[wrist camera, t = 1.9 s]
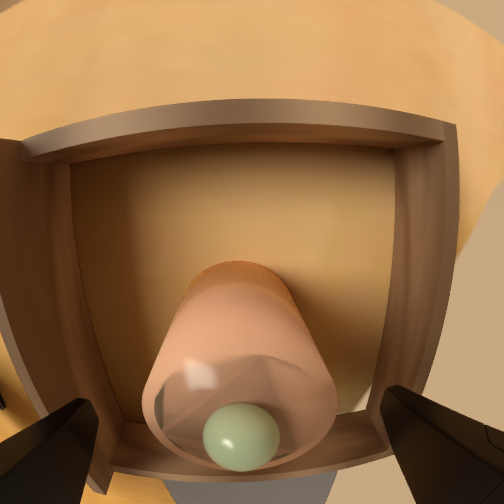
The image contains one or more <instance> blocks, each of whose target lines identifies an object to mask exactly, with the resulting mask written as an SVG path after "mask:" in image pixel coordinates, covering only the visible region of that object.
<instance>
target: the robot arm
mask: <svg viewBox="0 0 504 504" xmlns="http://www.w3.org/2000/svg"><path fill="white" fill-rule="evenodd" d="M5 408H6V406H5V404H4V402H3V400H2V399H1V397H0V409H1V410H4V409H5ZM380 414H381V417H382V420H383V423H384V426H385V429H386V432H387V435H388V438H389V441H390V445H391V447H392V450H393V452H394V455H395V457H396V459H397V461H398V463H399V466H400V468H401V470H402V472H403V475H404V476H405V479H406V481H407V484H408V486H409V488H410V490H411V493H412V495H413V498H414V500H415V502H416V504H504V432H503V431H501V430H498V429H495V428H493V427H490V426H488V425H484V424H483V423H481V422H478V421H476V420H474V419H472V418H469V417H467V416H465V415H462V414H460V413H458V412H456V411H453V410H451V409H449V408H447V407H445V406H442V405H440V404H438V403H436V402H434V401H432V400H430V399H428V398H425V397H423V396H421V395H419V394H417V393H415V392H413V391H411V390H409V389H407V388H405V387H403V386H401V385H398V384H396V385H392V386H388V387H386V388H385V390H384V393H383V396H382V400H381V403H380ZM98 426H99V418H98V415H97V413H96V411H95V409H94V407H93V404H92V402H91V401H90V400H89V399H86V398H80V397H78V398H76V399H74V400H73V401H71V402H69V403H68V404H66V405H64V406H63V407H61V408H59V409H58V410H56V411H54V412H53V413H51V414H49V415H47V416H46V417H44V418H42V419H41V420H39V421H37V422H36V423H34V424H32V425H30V426H29V427H27V428H25V429H23V430H22V431H20V432H18V433H16V434H15V435H13V436H11V437H9V438H8V439H6V440H4V441H2V442H1V443H0V504H80V502H81V498H82V494H83V490H84V487H85V483H86V479H87V476H88V472H89V469H90V465H91V462H92V457H93V452H94V447H95V441H96V436H97V431H98Z"/></svg>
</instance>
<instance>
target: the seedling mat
mask: <svg viewBox="0 0 504 504" xmlns="http://www.w3.org/2000/svg"><path fill="white" fill-rule="evenodd" d="M337 471H338V470H336V471H331V472H327V473H321V474H316V475H310V476H304V477H297V478H289V479H281V480H271V481H258V482H236V483H209V482H187V481H175V480H165V479H162V480H163V482H164V483H165V485H166V487H167V489H168V490H169V492H170V494H171V496H172V497H173V499H174V501H175V502H176V504H325V502H326V500H327V497H328V495H329V492H330V490H331V487H332V485H333V482H334V480H335V477H336V474H337Z"/></svg>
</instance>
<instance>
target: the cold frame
mask: <svg viewBox="0 0 504 504" xmlns="http://www.w3.org/2000/svg"><path fill="white" fill-rule="evenodd" d="M266 142H291V143H325V144H343V145H357V146H369V147H379V148H389V149H394V156H395V229H394V247H393V260H392V271H391V281H390V290H389V298H388V305H387V312H386V318H385V325H384V331H383V336H382V342H381V347H380V352H379V357H378V362H377V366H376V371H375V375H374V379H373V383H372V387H371V391H370V395H369V399H368V403H367V406H366V410H362V411H357V412H353V413H348V414H343V415H338V416H336V418H335V420H334V423H333V425H332V427H331V428H330V430H329V431H328V432H327V434H326V435H325V436H324V437H323V438H322V440H321V441H320V442H319V443H317V444H316V445H315V446H314V447H313V448H311V449H310V450H308V451H307V452H306V453H304V454H302V455H300V456H299V457H297V458H295V459H293V460H290V461H288V462H285V463H283V464H280V465H277V466H273V467H269V468H264V469H258V470H252V471H247V472H237V471H231V470H222V469H215V468H211V467H206V466H203V465H200V464H197V463H194V462H191V461H189V460H187V459H184V458H183V457H181V456H179V455H177V454H175V453H174V452H172V451H171V450H170V449H168V448H167V447H166V446H165V445H163V444H162V443H161V442H160V441H159V440H158V439H157V438H156V437H155V435H154V434H153V433H152V431H151V430H150V428H149V427H148V425H147V424H142V423H134V422H126V421H125V419H124V417H123V414H122V412H121V409H120V407H119V405H118V402H117V400H116V397H115V394H114V392H113V389H112V386H111V384H110V381H109V378H108V375H107V373H106V370H105V367H104V364H103V361H102V357H101V354H100V351H99V348H98V344H97V341H96V338H95V334H94V330H93V327H92V323H91V319H90V315H89V311H88V307H87V302H86V298H85V293H84V288H83V283H82V278H81V273H80V267H79V261H78V255H77V248H76V241H75V233H74V224H73V214H72V202H71V185H70V164H73V163H78V162H83V161H88V160H93V159H98V158H104V157H110V156H116V155H122V154H128V153H135V152H142V151H150V150H158V149H167V148H176V147H187V146H199V145H213V144H231V143H266ZM458 221H459V155H458V141H457V130H456V125H455V124H452V123H448V122H444V121H441V120H437V119H433V118H428V117H424V116H420V115H415V114H411V113H406V112H401V111H395V110H390V109H384V108H378V107H371V106H364V105H357V104H348V103H339V102H329V101H316V100H299V99H229V100H212V101H199V102H188V103H179V104H171V105H163V106H156V107H149V108H143V109H137V110H131V111H126V112H121V113H116V114H111V115H107V116H102V117H98V118H94V119H89V120H86V121H82V122H78V123H74V124H71V125H67V126H64V127H60V128H57V129H54V130H50V131H47V132H44V133H41V134H38V135H35V136H33V137H30V138H27V139H24V140H22V141H17V140H9V139H0V332H1V335H2V338H3V340H4V343H5V346H6V348H7V351H8V353H9V356H10V358H11V361H12V363H13V365H14V368H15V370H16V372H17V374H18V376H19V379H20V381H21V383H22V385H23V387H24V389H25V391H26V393H27V395H28V397H29V399H30V400H31V402H32V404H33V406H34V408H35V410H36V411H37V413H38V415H39V417H40V418H41V419H42V418H44V417H46V416H47V415H49V414H51V413H53V412H54V411H56V410H58V409H59V408H61V407H63V406H64V405H66V404H68V403H69V402H71V401H73V400H74V399H76V398H78V397H80V398H86V399H89V400H90V401H91V402H92V404H93V407H94V409H95V411H96V413H97V415H98V418H99V426H98V431H97V436H96V441H95V447H94V452H93V457H92V462H91V465H90V469H89V472H88V476H87V479H86V483H87V484H88V486H89V487H90V488H91V489H92V490H93V491H94V492H96V493H100V494H103V495H106V493H107V490H108V487H109V484H110V481H111V478H112V475H113V472H114V471H115V472H120V473H125V474H130V475H136V476H142V477H149V478H156V479H165V480H175V481H187V482H209V483H236V482H258V481H271V480H281V479H289V478H297V477H304V476H310V475H316V474H321V473H327V472H331V471H336V470H340V469H345V468H349V467H353V466H357V465H361V464H365V463H368V462H372V461H375V460H378V459H382V458H385V457H387V456H391V455H394V452H393V450H392V447H391V445H390V441H389V438H388V435H387V432H386V429H385V426H384V423H383V420H382V417H381V414H380V403H381V400H382V396H383V393H384V390H385V388H386V387H388V386H392V385H396V384H398V385H401V386H403V387H405V388H407V389H409V390H411V391H413V392H415V393H417V394H419V395H422V393H423V390H424V387H425V385H426V382H427V379H428V376H429V373H430V370H431V366H432V364H433V360H434V357H435V354H436V350H437V347H438V343H439V339H440V336H441V332H442V328H443V324H444V319H445V315H446V310H447V305H448V300H449V295H450V289H451V284H452V278H453V271H454V264H455V255H456V246H457V235H458Z"/></svg>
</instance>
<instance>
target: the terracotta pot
mask: <svg viewBox="0 0 504 504" xmlns="http://www.w3.org/2000/svg"><path fill="white" fill-rule="evenodd" d="M338 403H339V402H338V393H337V389H336V386H335V384H334V382H333V380H332V378H331V375H330V373H329V371H328V369H327V367H326V365H325V363H324V361H323V359H322V357H321V355H320V353H319V351H318V349H317V347H316V345H315V343H314V341H313V338H312V336H311V334H310V332H309V330H308V328H307V326H306V324H305V322H304V320H303V318H302V316H301V314H300V312H299V310H298V308H297V306H296V304H295V302H294V300H293V298H292V296H291V294H290V292H289V290H288V288H287V287H286V285H285V284H284V282H283V281H282V280H281V279H280V278H279V277H278V276H277V275H276V274H274V273H273V272H272V271H270V270H269V269H267V268H265V267H263V266H261V265H258V264H255V263H251V262H245V261H230V262H224V263H220V264H217V265H214V266H212V267H210V268H208V269H206V270H204V271H203V272H202V273H200V274H199V275H198V276H197V277H196V278H195V279H194V280H193V281H192V282H191V284H190V285H189V287H188V288H187V290H186V292H185V294H184V296H183V299H182V301H181V303H180V305H179V307H178V310H177V312H176V314H175V316H174V319H173V321H172V323H171V326H170V328H169V330H168V332H167V335H166V337H165V339H164V342H163V344H162V346H161V349H160V351H159V354H158V356H157V358H156V361H155V363H154V365H153V368H152V370H151V373H150V375H149V378H148V380H147V383H146V385H145V388H144V391H143V396H142V410H143V414H144V418H145V420H146V423H147V425H148V427H149V428H150V430H151V431H152V433H153V434H154V435H155V437H156V438H157V439H158V440H159V441H160V442H161V443H162V444H163V445H165V446H166V447H167V448H168V449H170V450H171V451H172V452H174V453H175V454H177V455H179V456H181V457H183V458H184V459H187V460H189V461H191V462H194V463H197V464H200V465H203V466H206V467H211V468H215V469H222V470H231V471H237V472H247V471H252V470H258V469H264V468H269V467H273V466H277V465H280V464H283V463H285V462H288V461H290V460H293V459H295V458H297V457H299V456H300V455H302V454H304V453H306V452H307V451H308V450H310V449H311V448H313V447H314V446H315V445H316V444H317V443H319V442H320V441H321V440H322V438H323V437H324V436H325V435H326V434H327V432H328V431H329V430H330V428H331V427H332V425H333V423H334V420H335V418H336V415H337V411H338Z"/></svg>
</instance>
